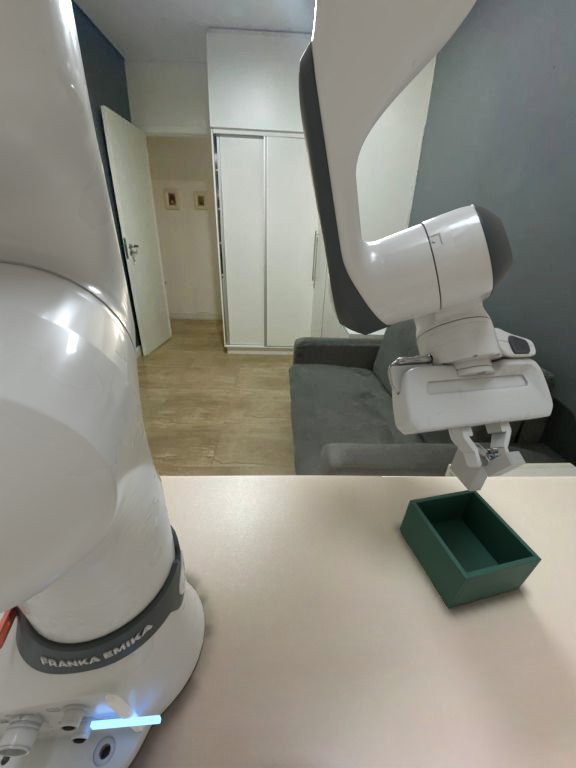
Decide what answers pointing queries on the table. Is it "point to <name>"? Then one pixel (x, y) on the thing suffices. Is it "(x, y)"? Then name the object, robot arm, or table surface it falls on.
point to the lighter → (484, 468)
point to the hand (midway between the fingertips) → (489, 465)
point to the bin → (466, 547)
